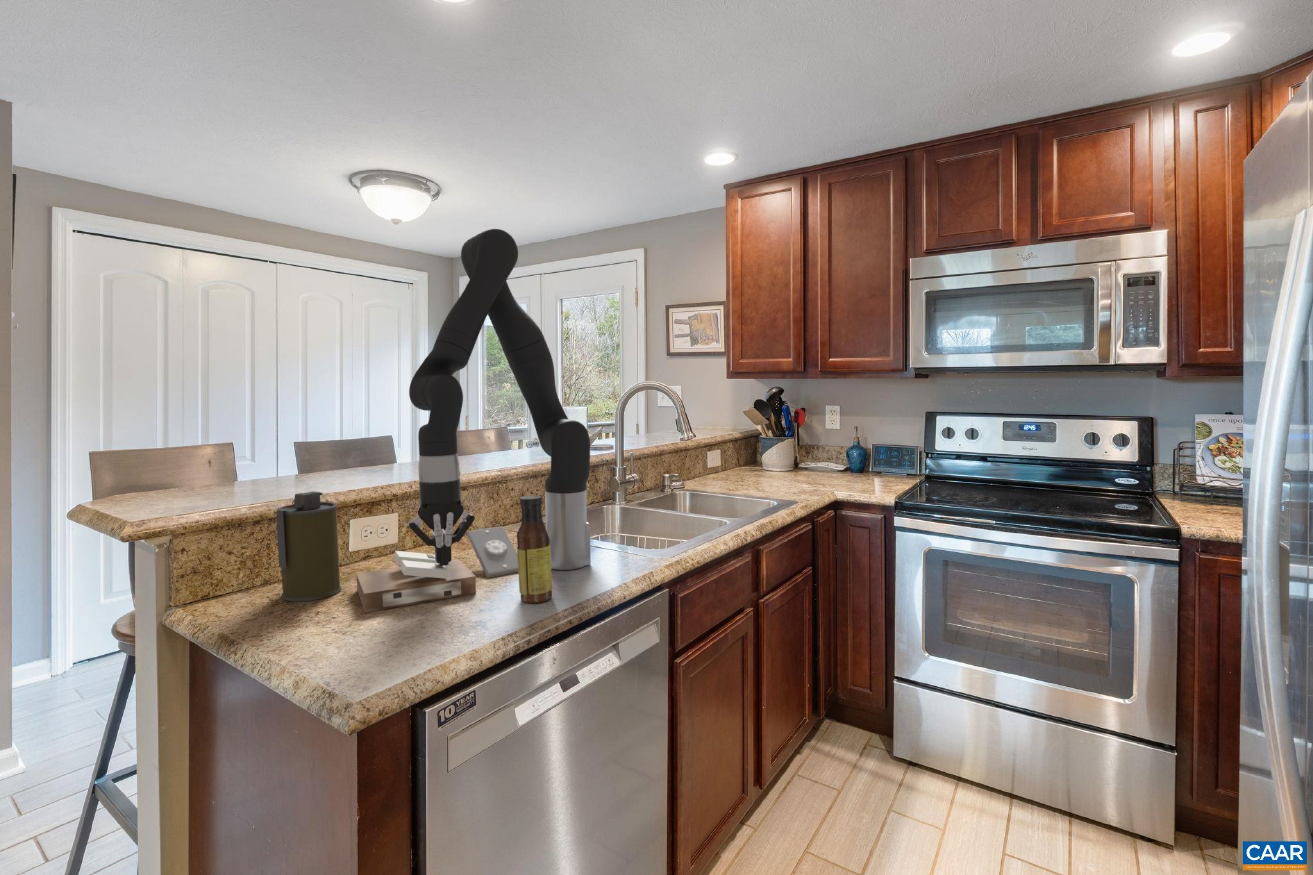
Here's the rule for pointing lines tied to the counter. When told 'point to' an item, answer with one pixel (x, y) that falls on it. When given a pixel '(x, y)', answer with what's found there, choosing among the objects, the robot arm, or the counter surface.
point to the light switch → (494, 551)
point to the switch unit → (412, 587)
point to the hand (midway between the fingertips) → (443, 564)
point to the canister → (308, 548)
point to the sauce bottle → (533, 553)
